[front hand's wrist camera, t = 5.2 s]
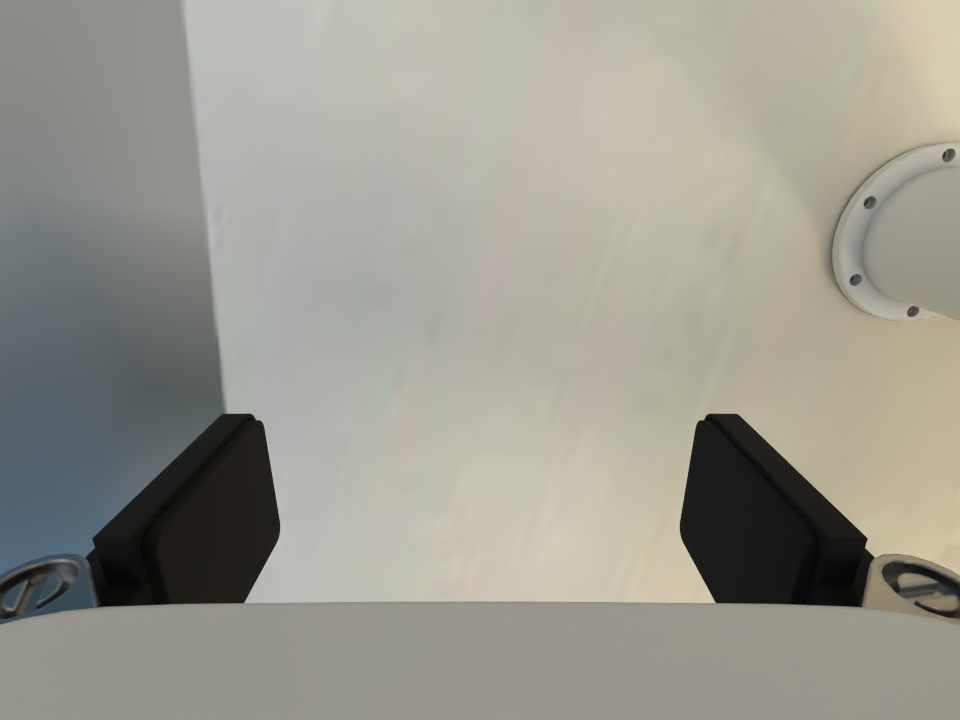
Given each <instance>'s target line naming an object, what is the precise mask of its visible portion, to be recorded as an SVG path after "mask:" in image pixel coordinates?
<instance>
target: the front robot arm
mask: <svg viewBox="0 0 960 720" xmlns="http://www.w3.org/2000/svg"><path fill="white" fill-rule="evenodd" d="M832 264H833V270H834V274H835V278H836V281H837V283H838V285H839V287H840V289H841V291H842V293H843V294H844V295H845V296H846V297H847V298H848V300H849V301H850V302H851V303H852V304H854V305H855V306H857V307H858V308H859V309H861V310H862V311H865V312H867V313H869V314H872V315H874V316H877V317H880V318H884V319H887V320H893V321H914V320H922V319H926V318H929V317H933V316H936V315H939V314H941V315H944V316H947V317H950V318H954V319H957V320H960V143H941V144H934V145H927V146H923V147H920V148H917V149H914V150H911V151H908V152H906V153H904V154H902V155H900V156H898V157H896V158H895V159H893V160H891V161H890V162H888V163H887V164H885V165H884V166H883V167H881V168H880V169H878V170H877V171H876V172H875V173H874V174H873V175H872V176H871V177H870V178H869V179H867V180H866V181H865V182H864V183H863V184H862V185H861V187H860V188H859V189H858V191H857V192H856V193H855V195H854V196H853V197H852V198H851V200H850V201H849V203H848V205H847V207H846V208H845V210H844V212H843V214H842V216H841V218H840V221H839V224H838V226H837V229H836V232H835V236H834V242H833V248H832ZM279 534H280V520H279V514H278V508H277V502H276V496H275V490H274V484H273V478H272V472H271V466H270V460H269V454H268V448H267V442H266V435H265V429H264V425H263V423H262V422H261V421H260V420H256V419H255V417H254V416H253V415H252V414H222V415H221V416H220V417H219V418H217V419H216V420H215V421H214V422H213V423H212V424H211V425H210V426H209V427H208V428H207V429H206V430H205V431H204V432H203V433H202V434H201V435H200V436H199V437H198V438H197V439H196V440H195V441H194V442H192V444H190V445H189V446H188V447H187V448H186V449H185V450H184V451H183V452H182V453H181V454H180V455H179V456H178V457H177V458H176V459H175V460H174V461H173V462H172V463H171V464H170V465H169V466H168V467H166V468H165V469H164V470H163V471H162V472H161V473H160V474H159V475H158V476H157V477H156V478H155V479H154V480H153V481H152V482H151V483H150V484H149V485H148V486H147V487H146V488H144V489H143V490H142V491H141V492H140V493H139V494H138V495H137V496H136V497H135V498H134V499H133V500H132V501H131V502H130V503H129V504H128V505H127V506H126V507H125V508H124V509H123V510H122V511H121V512H120V513H118V514H117V515H116V516H115V517H114V518H113V519H112V520H111V521H110V522H109V523H108V524H107V525H106V526H105V527H104V528H103V529H102V530H101V531H100V532H99V533H98V534H97V535H96V536H94V537H93V542H94V545H95V549H94V550H93V551H92V552H91V553H89V555H87V557H85V558H84V557H81V556H79V555H75V554H59V555H52V556H47V557H43V558H40V559H36V560H33V561H29V562H27V563H25V564H22V565H20V566H18V567H15V568H13V569H11V570H9V571H7V572H6V573H4V574H2V575H0V720H960V575H958V574H956V573H954V572H953V571H951V570H949V569H947V568H945V567H942V566H940V565H938V564H935V563H933V562H931V561H927V560H924V559H920V558H917V557H914V556H908V555H901V554H885V555H881V556H878V557H876V558H875V557H874V556H873V555H872V554H871V553H870V552H869V551H867V550H866V549H865V545H866V542H867V539H868V538H867V537H866V536H865V535H863V534H862V533H861V532H860V531H859V530H858V529H857V528H856V527H855V526H854V525H853V524H852V523H851V522H850V521H849V520H848V519H847V518H846V517H845V516H844V515H843V514H842V513H841V512H839V511H838V510H837V509H836V508H835V507H834V506H833V505H832V504H831V503H830V502H829V501H828V500H827V499H826V498H825V497H824V496H823V495H822V494H821V493H820V492H819V491H818V490H817V489H816V488H814V487H813V486H812V485H811V484H810V483H809V482H808V481H807V480H806V479H805V478H804V477H803V476H802V475H801V474H800V473H799V472H798V471H797V470H796V469H795V468H794V467H793V466H792V465H790V464H789V463H788V462H787V461H786V460H785V459H784V458H783V457H782V456H781V455H780V454H779V453H778V452H777V451H776V450H775V449H774V448H773V447H772V446H771V445H770V444H769V443H768V442H766V441H765V440H764V439H763V438H762V437H761V436H760V435H759V434H758V433H757V432H756V431H755V430H754V429H753V428H752V427H751V426H750V425H749V424H748V423H747V422H746V421H745V420H744V419H743V418H741V417H740V416H739V415H738V414H708V415H707V416H706V417H705V419H704V420H700V421H699V422H698V423H697V425H696V429H695V435H694V442H693V448H692V454H691V460H690V466H689V472H688V478H687V484H686V490H685V496H684V502H683V508H682V514H681V520H680V534H681V538H682V541H683V543H684V545H685V547H686V549H687V550H688V552H689V554H690V556H691V558H692V560H693V561H694V563H695V565H696V567H697V569H698V571H699V573H700V574H701V576H702V578H703V580H704V582H705V584H706V585H707V587H708V589H709V591H710V593H711V595H712V597H713V598H714V600H715V602H716V603H621V602H329V603H244V602H245V600H246V598H247V597H248V595H249V593H250V591H251V589H252V587H253V585H254V584H255V582H256V580H257V578H258V576H259V574H260V573H261V571H262V569H263V567H264V565H265V563H266V561H267V560H268V558H269V556H270V554H271V552H272V550H273V549H274V547H275V545H276V543H277V541H278V538H279Z"/></svg>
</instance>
